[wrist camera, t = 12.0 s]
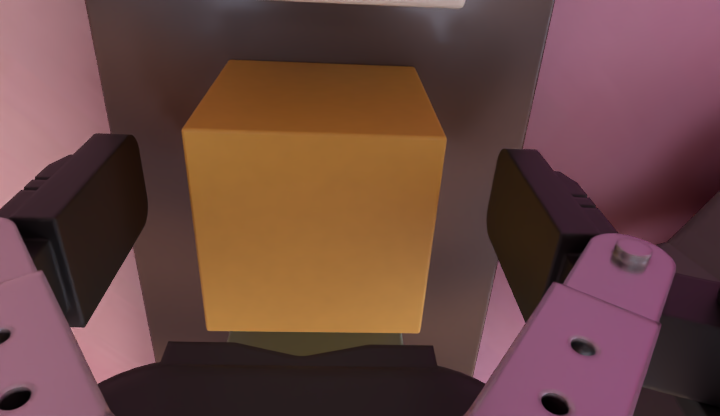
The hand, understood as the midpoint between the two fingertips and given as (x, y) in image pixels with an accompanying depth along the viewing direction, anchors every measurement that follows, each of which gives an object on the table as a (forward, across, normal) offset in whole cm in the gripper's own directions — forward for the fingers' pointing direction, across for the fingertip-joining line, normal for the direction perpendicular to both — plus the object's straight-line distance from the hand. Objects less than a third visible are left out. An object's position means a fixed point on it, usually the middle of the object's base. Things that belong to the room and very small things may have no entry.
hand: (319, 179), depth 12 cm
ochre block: (+2, 0, 0) cm, 2 cm away
